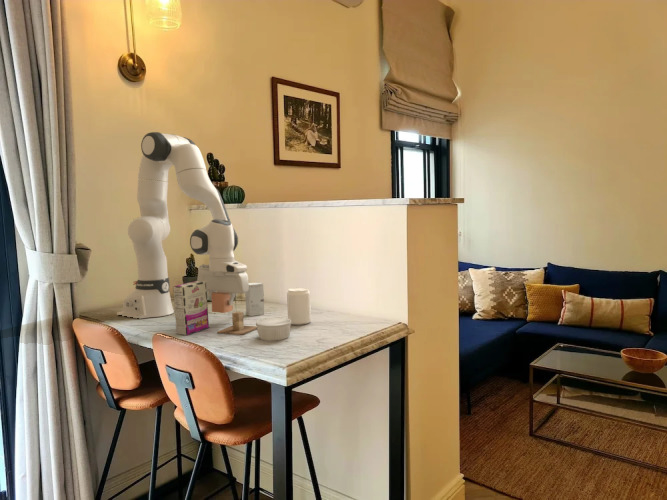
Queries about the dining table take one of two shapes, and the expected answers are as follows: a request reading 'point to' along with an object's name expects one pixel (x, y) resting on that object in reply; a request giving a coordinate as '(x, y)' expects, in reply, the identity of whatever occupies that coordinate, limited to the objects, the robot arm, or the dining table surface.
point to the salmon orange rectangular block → (221, 302)
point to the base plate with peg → (238, 326)
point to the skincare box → (255, 299)
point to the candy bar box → (191, 307)
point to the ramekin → (273, 328)
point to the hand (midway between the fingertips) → (222, 304)
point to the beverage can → (299, 306)
